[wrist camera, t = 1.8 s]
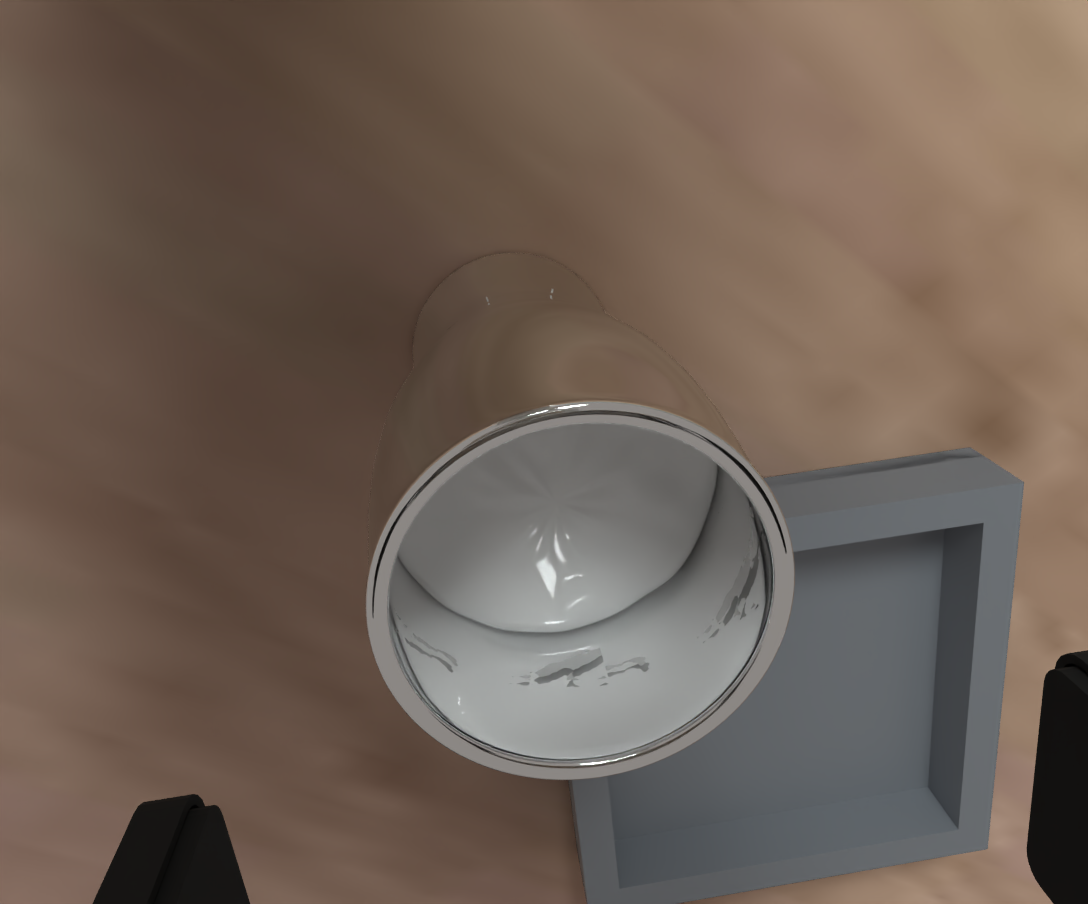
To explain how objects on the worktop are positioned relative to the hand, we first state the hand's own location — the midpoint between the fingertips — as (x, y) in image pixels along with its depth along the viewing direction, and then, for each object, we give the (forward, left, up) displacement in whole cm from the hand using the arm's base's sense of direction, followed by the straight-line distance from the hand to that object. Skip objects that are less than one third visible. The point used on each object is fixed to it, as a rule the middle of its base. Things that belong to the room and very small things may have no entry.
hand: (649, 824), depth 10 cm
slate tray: (+12, +7, -19) cm, 24 cm away
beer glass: (0, 0, -19) cm, 19 cm away
